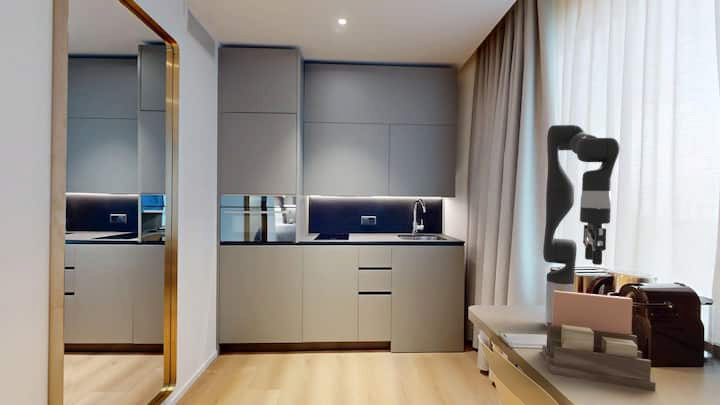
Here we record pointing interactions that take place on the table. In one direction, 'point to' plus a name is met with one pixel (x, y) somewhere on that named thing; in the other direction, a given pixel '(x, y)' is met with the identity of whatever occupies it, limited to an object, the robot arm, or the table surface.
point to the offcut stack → (585, 340)
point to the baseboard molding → (524, 340)
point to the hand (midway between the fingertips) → (593, 261)
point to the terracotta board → (592, 311)
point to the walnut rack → (597, 361)
